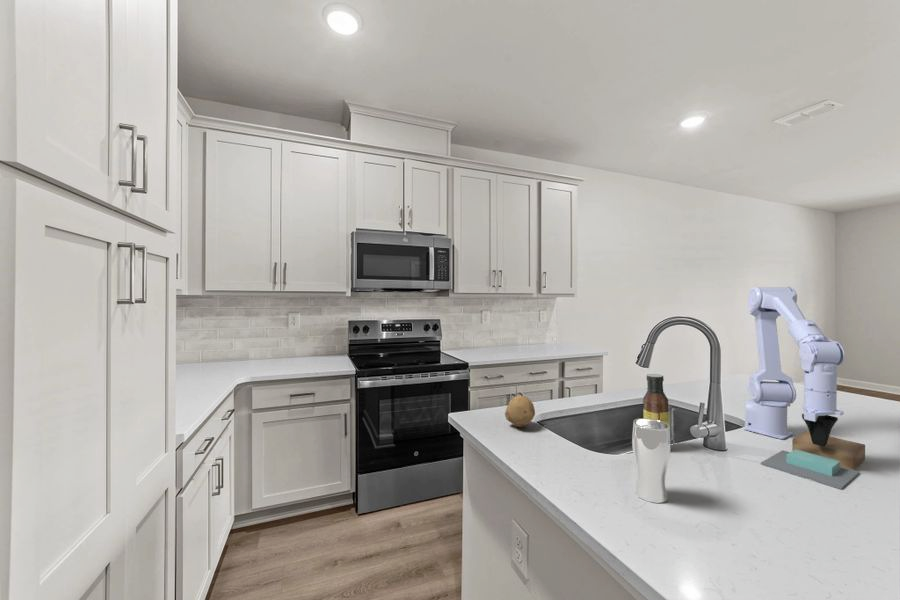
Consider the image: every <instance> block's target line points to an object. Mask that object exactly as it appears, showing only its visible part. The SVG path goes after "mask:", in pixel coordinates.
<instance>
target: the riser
mask: <svg viewBox="0 0 900 600" xmlns="http://www.w3.org/2000/svg"><path fill="white" fill-rule="evenodd" d="M791 440H792V445H791V448H792V450H791V452H792V451H793V450H795V449H796V450H800V451H804V452H808V453H811V454H815V455H819V456H822V457H826V458H830V459H833V460H837V461H840V466H841V467H845V468H848V469H852V470H856V469H857V468H858V467H859V466H861V464H863V463H864V462H865V461H866V444H864V443H859V442H856V441H855V442H854V441H851V440H847V439H842V438H838V437H834V436H830V435H829V438H828V441H827V444H826V446H824V447H823V446H819V445H815V444H813V443H812V440H811V436H810V432H809V430H806V431H804V432H802V433H800V434H798V435H796V436H795V437H793V438H792V439H791Z"/></svg>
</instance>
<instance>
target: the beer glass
mask: <svg viewBox="0 0 900 600" xmlns="http://www.w3.org/2000/svg"><path fill="white" fill-rule="evenodd" d="M632 423H633V424H632V435H631V437H632V438H631V445H632V454H633V460H634V466H635V471H636V477H635V479H636V480H635V484H634V489H633V491H634V492H633V493H634V495H636V496H637V497H638V498H640V499H641V500H643V501H644V502H645V501H646V502H648V503H654V504H663V503H665V502H666V501H668V493H667V488H666V487H667V486H666V478H667V477H666V476H667V471H668V466H669V463H670V457H671V455H670V454H671V431H670V432H669V425H668V424H666V423H664V422H662V421H659V420H654V419H646V418H636V419H634V420H633V422H632Z"/></svg>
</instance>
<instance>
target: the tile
mask: <svg viewBox="0 0 900 600" xmlns="http://www.w3.org/2000/svg"><path fill="white" fill-rule="evenodd" d="M789 452H790V451H789ZM786 463H789V464H793V465H796V466H799V467H803V468H806V469H810V470H813V471H816V472H820V473H823V474H826V475H830V476H833V475H834V474H835V473H837V472H838V471H839V470H840V461H837V460H833V459H830V458H826V457H822V456H819V455H815V454H811V453H808V452H804V451H800V450H796V449H795V450H793V451H792V450H791V452H790V453H788V454H787V459H786Z"/></svg>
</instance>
